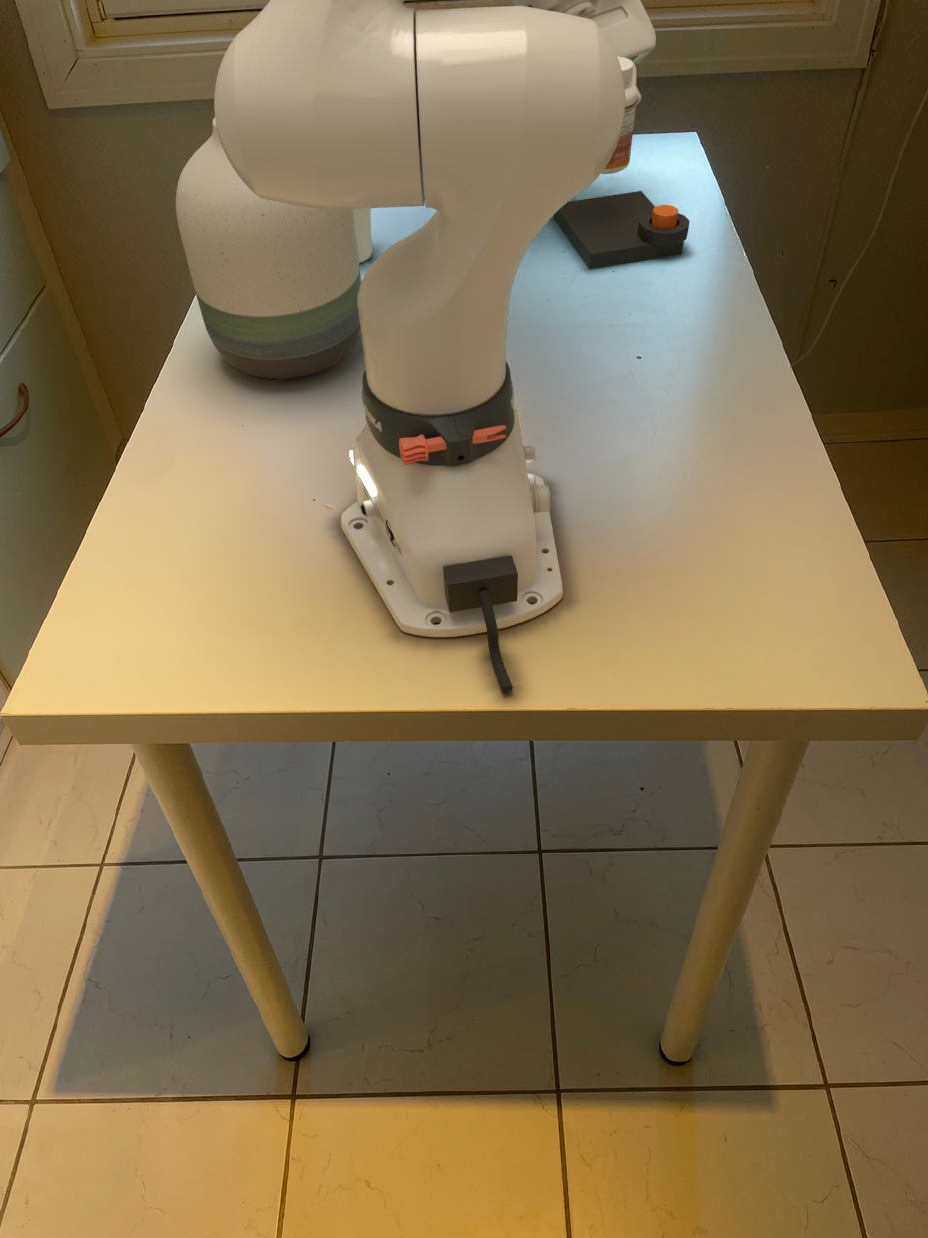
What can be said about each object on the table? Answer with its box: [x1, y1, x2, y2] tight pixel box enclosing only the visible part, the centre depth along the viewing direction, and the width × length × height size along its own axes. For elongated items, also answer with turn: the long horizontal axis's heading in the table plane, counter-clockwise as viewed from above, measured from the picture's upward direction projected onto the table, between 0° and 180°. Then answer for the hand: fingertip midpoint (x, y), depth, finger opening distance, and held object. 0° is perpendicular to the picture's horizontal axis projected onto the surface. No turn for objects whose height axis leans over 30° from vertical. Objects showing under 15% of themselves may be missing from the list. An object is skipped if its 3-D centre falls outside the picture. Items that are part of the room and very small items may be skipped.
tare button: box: [651, 204, 679, 229], centre depth 112 cm, size 3×3×2 cm
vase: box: [175, 116, 362, 379], centre depth 93 cm, size 17×17×24 cm
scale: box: [552, 190, 691, 270], centre depth 116 cm, size 15×13×4 cm
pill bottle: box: [600, 56, 637, 175], centre depth 108 cm, size 6×6×11 cm
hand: (612, 113), depth 108 cm, fingers closed on pill bottle, 6 cm apart
